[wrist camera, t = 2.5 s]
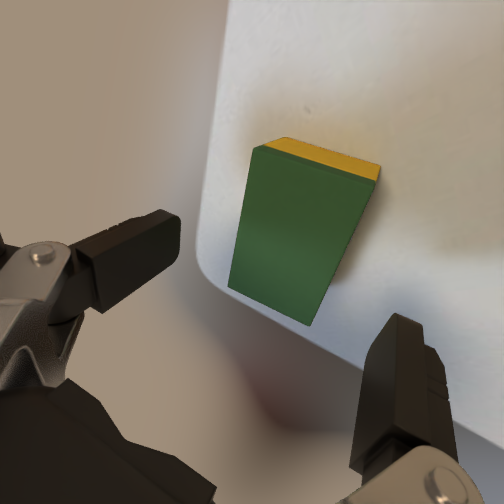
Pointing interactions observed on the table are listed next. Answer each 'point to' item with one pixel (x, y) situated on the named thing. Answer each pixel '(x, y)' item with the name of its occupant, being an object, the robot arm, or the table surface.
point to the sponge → (297, 224)
